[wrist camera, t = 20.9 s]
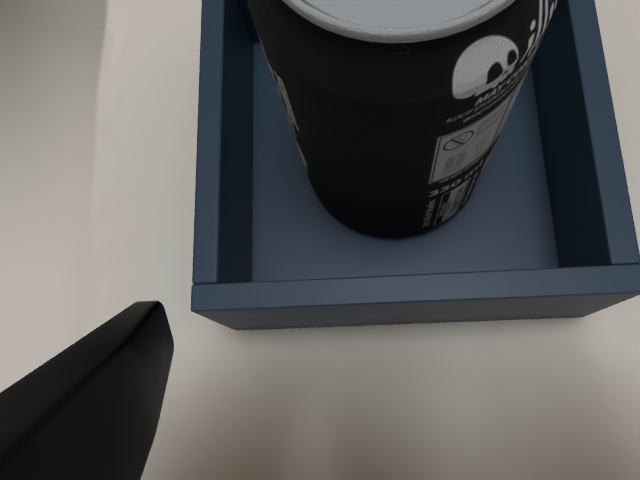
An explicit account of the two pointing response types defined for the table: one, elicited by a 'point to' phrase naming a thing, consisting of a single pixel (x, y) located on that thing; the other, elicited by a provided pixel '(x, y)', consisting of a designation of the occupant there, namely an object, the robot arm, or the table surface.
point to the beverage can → (398, 98)
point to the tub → (425, 247)
